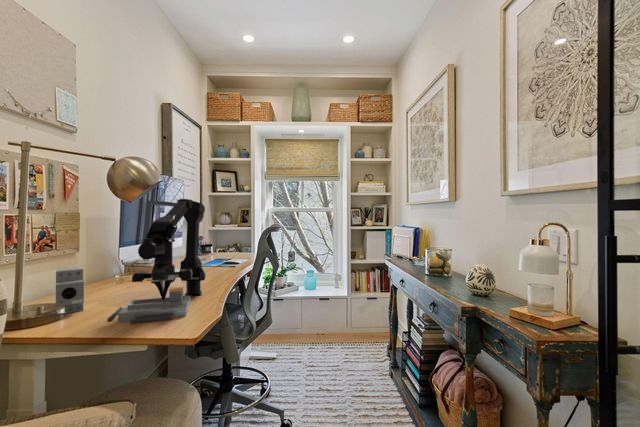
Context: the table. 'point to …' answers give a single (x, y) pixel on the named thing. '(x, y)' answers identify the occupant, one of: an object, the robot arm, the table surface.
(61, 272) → the circuit breaker
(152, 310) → the panel
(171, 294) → the toggle
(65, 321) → the table surface
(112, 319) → the dark grey rod
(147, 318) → the charcoal thin cylinder
